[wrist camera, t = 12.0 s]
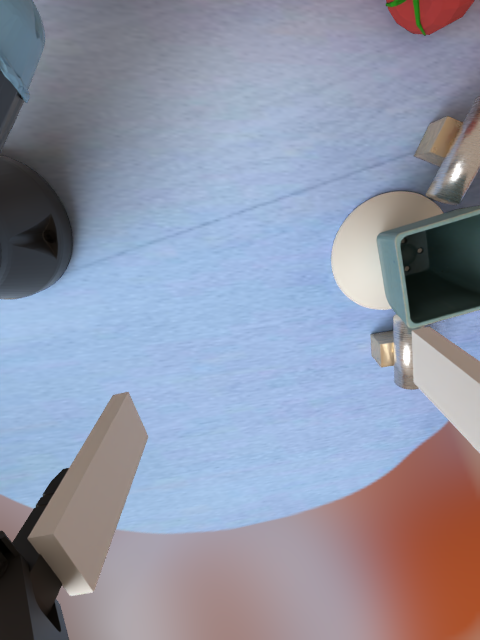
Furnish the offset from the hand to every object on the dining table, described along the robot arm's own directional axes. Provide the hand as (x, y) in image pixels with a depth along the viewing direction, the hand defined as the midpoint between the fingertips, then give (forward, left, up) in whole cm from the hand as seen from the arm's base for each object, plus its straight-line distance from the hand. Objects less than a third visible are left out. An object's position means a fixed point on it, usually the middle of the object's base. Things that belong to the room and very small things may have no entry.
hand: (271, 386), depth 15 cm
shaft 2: (+3, +22, -24) cm, 32 cm away
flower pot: (+9, +14, -23) cm, 29 cm away
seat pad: (+8, +13, -24) cm, 28 cm away
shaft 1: (+17, +8, -24) cm, 30 cm away
